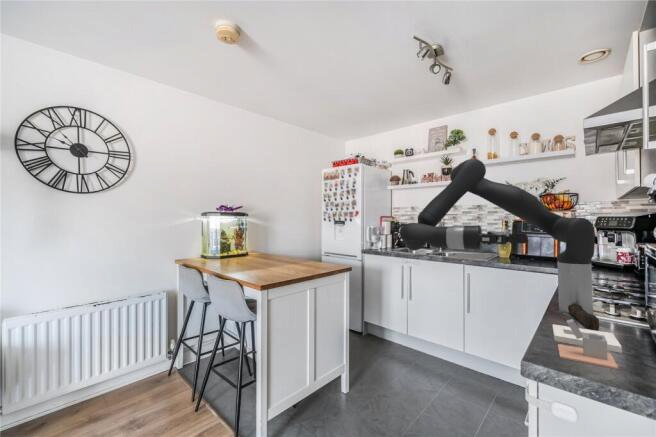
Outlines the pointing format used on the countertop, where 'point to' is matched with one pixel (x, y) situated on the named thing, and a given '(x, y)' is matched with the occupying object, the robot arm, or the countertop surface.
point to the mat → (578, 355)
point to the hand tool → (584, 317)
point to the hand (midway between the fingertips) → (526, 238)
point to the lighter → (590, 343)
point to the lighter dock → (568, 336)
